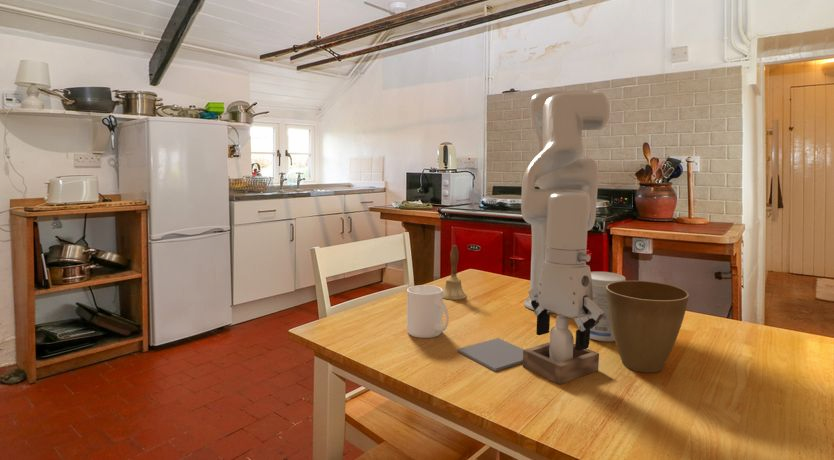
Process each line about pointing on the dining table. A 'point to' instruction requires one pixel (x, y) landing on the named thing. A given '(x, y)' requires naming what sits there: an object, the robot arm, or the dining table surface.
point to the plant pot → (645, 321)
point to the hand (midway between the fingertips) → (561, 341)
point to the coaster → (494, 354)
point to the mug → (425, 311)
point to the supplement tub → (603, 304)
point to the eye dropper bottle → (561, 340)
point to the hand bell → (453, 279)
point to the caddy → (563, 371)
